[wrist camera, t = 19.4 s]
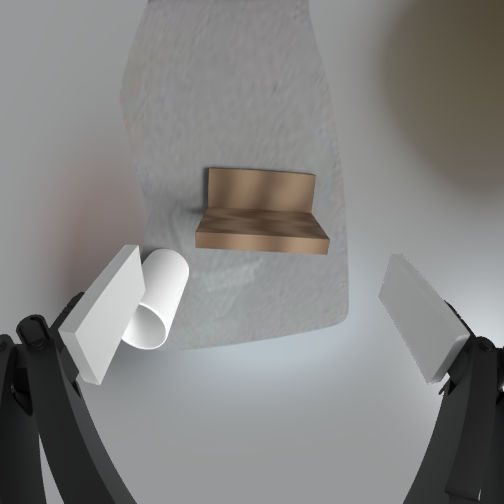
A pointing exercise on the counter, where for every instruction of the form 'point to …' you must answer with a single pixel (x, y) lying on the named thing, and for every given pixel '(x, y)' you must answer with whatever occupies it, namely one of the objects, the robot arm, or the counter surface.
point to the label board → (261, 212)
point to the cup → (157, 299)
